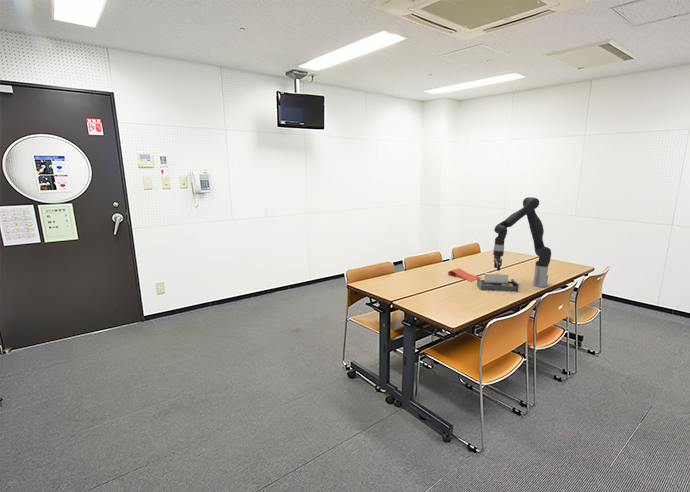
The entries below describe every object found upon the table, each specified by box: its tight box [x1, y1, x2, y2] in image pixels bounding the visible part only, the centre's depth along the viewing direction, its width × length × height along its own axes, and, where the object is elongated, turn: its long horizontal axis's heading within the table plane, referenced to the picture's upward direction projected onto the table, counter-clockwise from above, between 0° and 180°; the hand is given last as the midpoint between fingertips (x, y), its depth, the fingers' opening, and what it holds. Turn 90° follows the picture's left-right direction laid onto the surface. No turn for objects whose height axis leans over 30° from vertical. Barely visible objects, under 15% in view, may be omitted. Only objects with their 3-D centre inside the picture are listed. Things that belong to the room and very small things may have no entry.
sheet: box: [447, 268, 483, 283], centre depth 313 cm, size 6×30×24 cm
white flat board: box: [483, 272, 509, 283], centre depth 286 cm, size 18×2×11 cm, turn 82°
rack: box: [476, 278, 520, 293], centre depth 282 cm, size 28×15×6 cm, turn 82°
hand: (496, 269), depth 284 cm, fingers open, 8 cm apart
